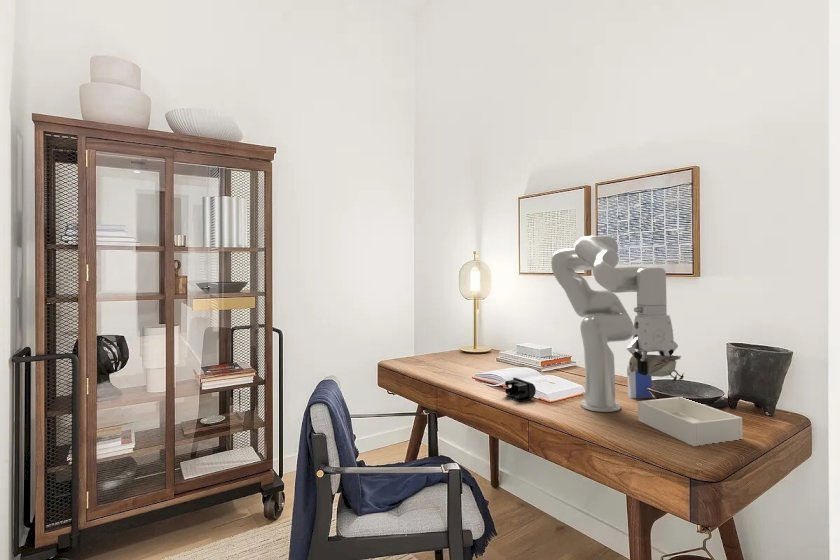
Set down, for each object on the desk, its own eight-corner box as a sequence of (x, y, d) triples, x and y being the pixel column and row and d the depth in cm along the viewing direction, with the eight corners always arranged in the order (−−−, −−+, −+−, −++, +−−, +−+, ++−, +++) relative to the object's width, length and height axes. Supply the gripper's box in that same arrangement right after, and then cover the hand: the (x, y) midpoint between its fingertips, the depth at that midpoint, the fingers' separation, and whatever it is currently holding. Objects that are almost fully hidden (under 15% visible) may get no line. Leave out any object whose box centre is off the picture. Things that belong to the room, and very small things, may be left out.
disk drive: (698, 399, 163) (672, 405, 156) (698, 391, 163) (672, 397, 156) (729, 406, 154) (703, 413, 147) (729, 398, 154) (703, 404, 147)
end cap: (536, 400, 167) (535, 381, 167) (520, 402, 164) (519, 384, 164) (520, 393, 176) (519, 376, 176) (504, 396, 173) (504, 378, 173)
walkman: (648, 395, 167) (647, 363, 167) (652, 397, 164) (651, 364, 164) (626, 396, 167) (626, 363, 167) (630, 398, 164) (629, 365, 164)
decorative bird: (636, 371, 138) (636, 346, 137) (687, 382, 123) (687, 354, 123) (624, 373, 135) (623, 348, 135) (674, 385, 121) (674, 357, 121)
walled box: (638, 420, 141) (637, 401, 141) (681, 415, 144) (681, 396, 144) (693, 446, 120) (693, 423, 120) (742, 439, 123) (742, 417, 123)
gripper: (632, 313, 124) (633, 378, 125) (688, 310, 127) (689, 374, 128) (616, 311, 132) (617, 372, 132) (669, 308, 135) (670, 368, 135)
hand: (653, 372), depth 130 cm, fingers closed on decorative bird, 5 cm apart
